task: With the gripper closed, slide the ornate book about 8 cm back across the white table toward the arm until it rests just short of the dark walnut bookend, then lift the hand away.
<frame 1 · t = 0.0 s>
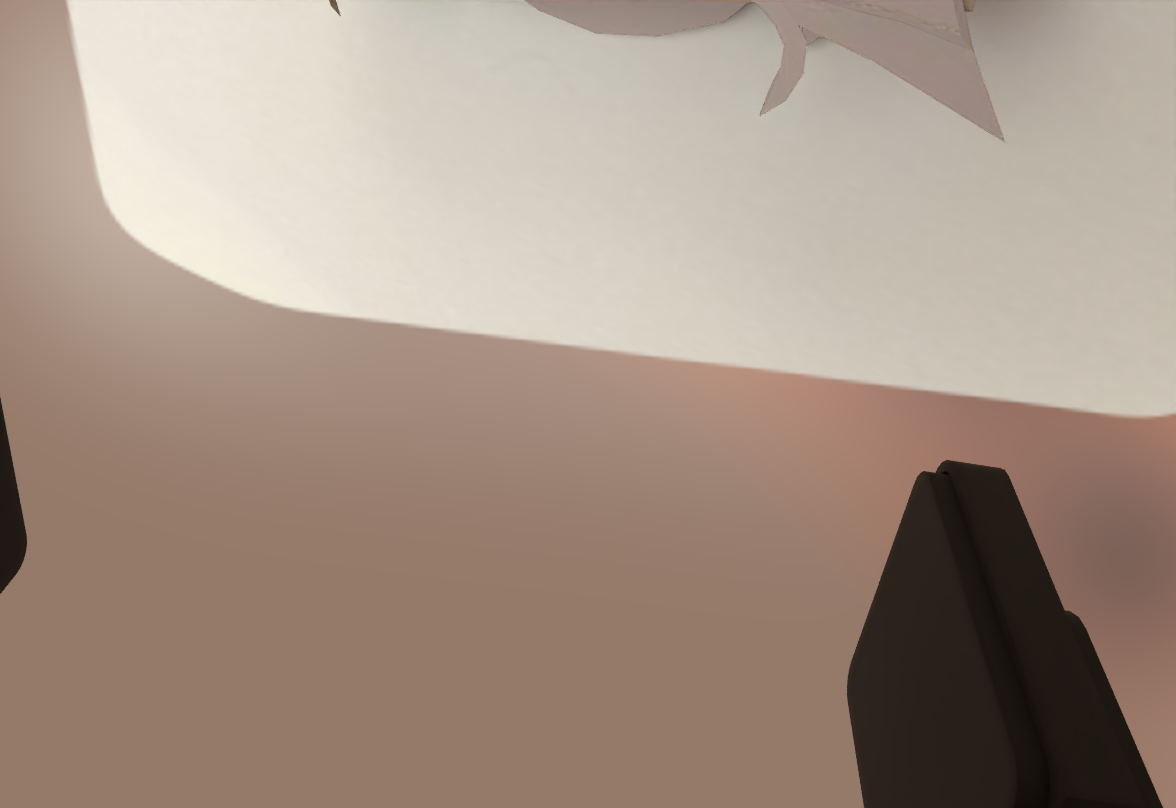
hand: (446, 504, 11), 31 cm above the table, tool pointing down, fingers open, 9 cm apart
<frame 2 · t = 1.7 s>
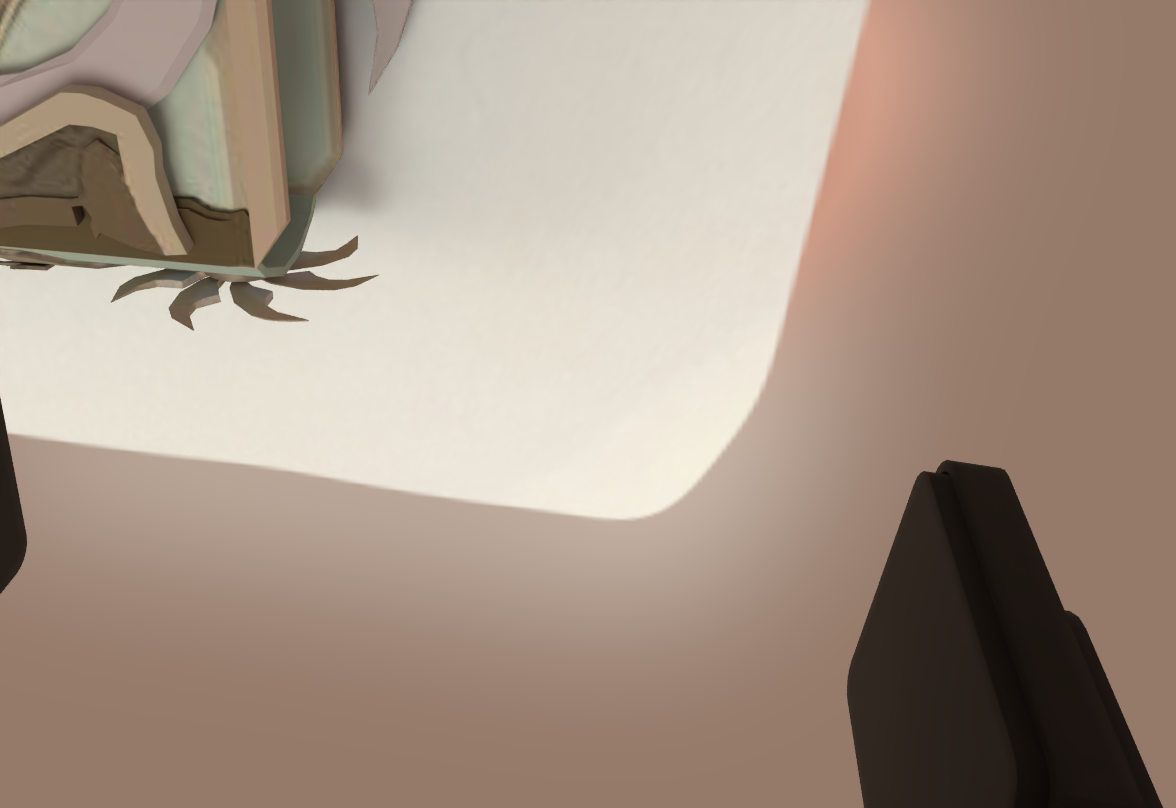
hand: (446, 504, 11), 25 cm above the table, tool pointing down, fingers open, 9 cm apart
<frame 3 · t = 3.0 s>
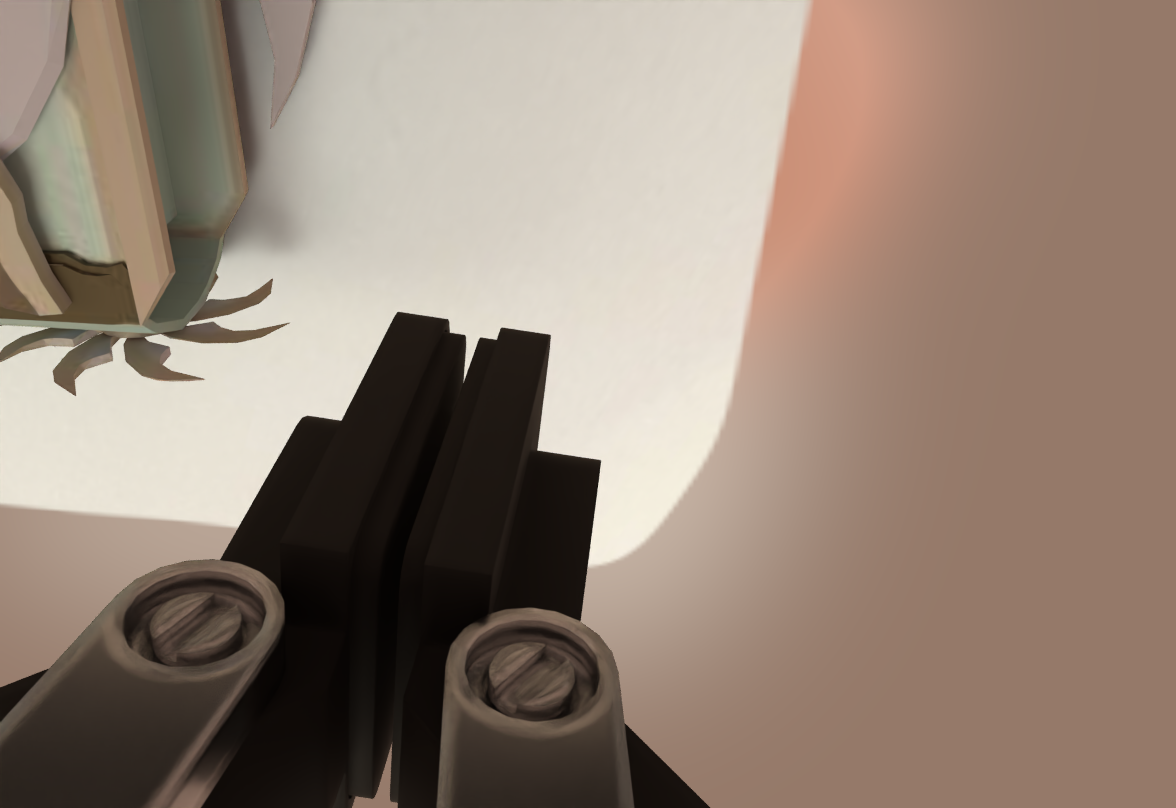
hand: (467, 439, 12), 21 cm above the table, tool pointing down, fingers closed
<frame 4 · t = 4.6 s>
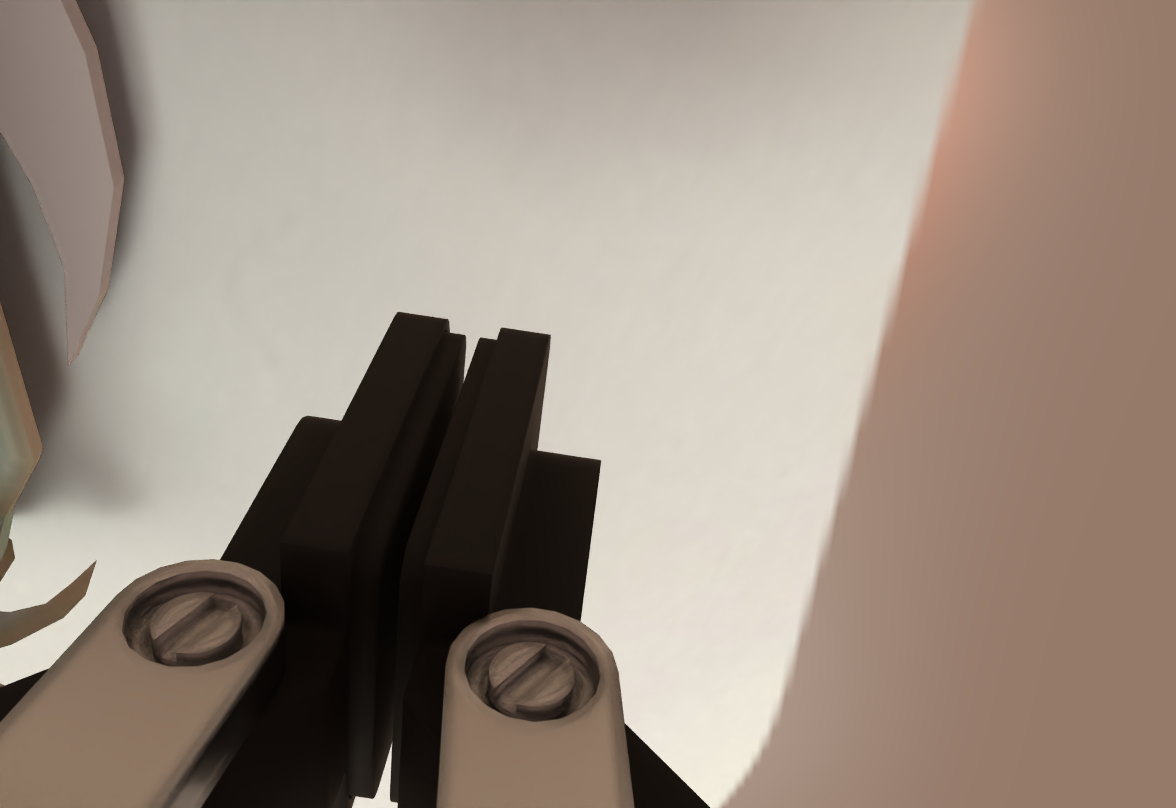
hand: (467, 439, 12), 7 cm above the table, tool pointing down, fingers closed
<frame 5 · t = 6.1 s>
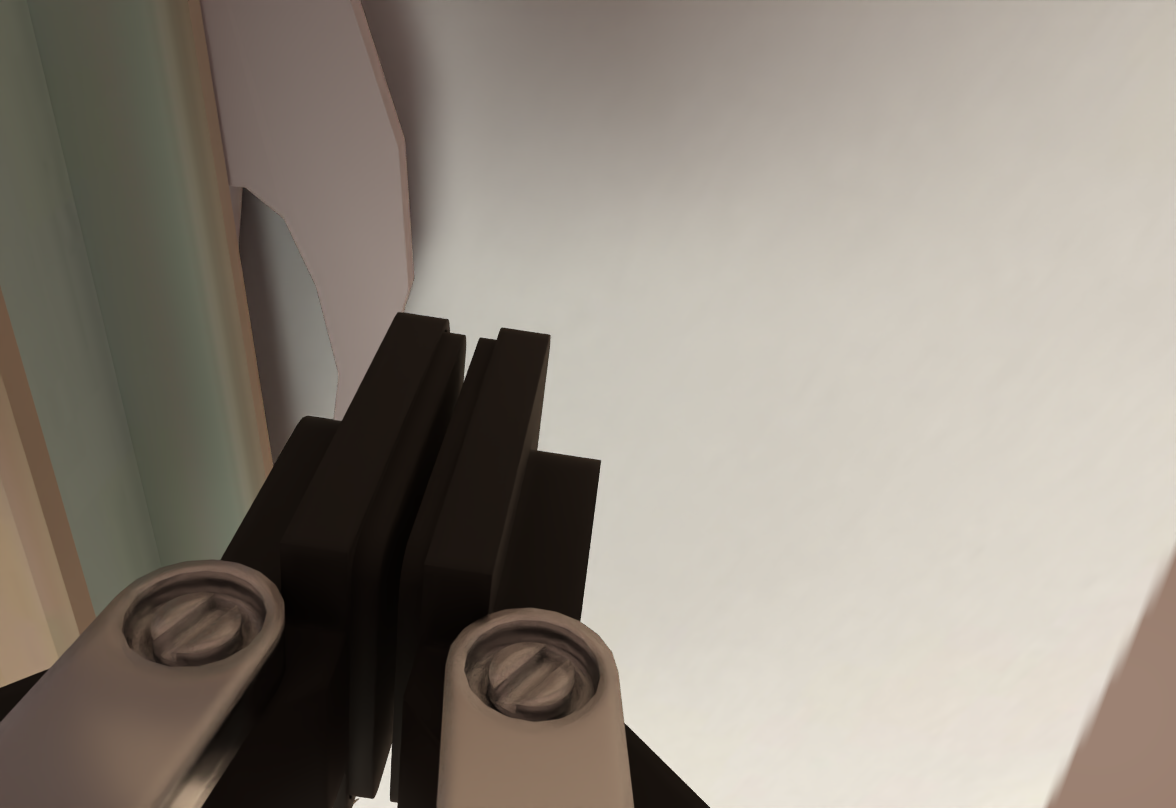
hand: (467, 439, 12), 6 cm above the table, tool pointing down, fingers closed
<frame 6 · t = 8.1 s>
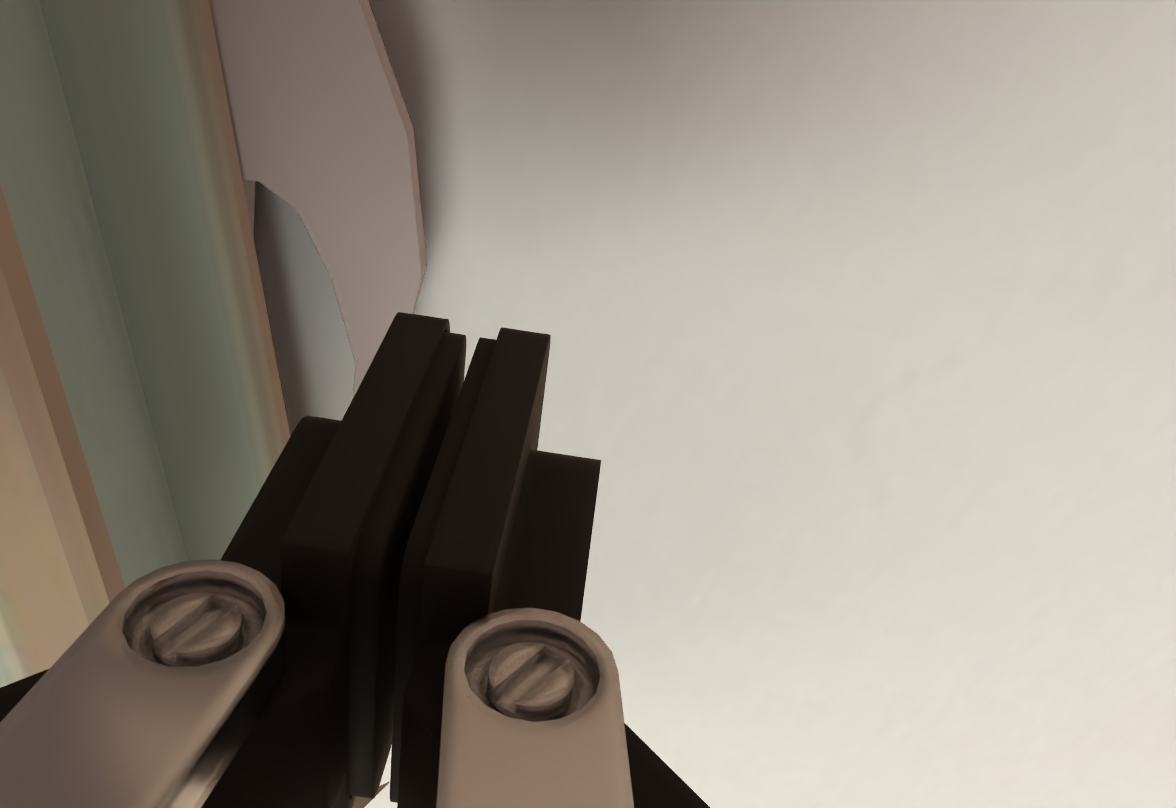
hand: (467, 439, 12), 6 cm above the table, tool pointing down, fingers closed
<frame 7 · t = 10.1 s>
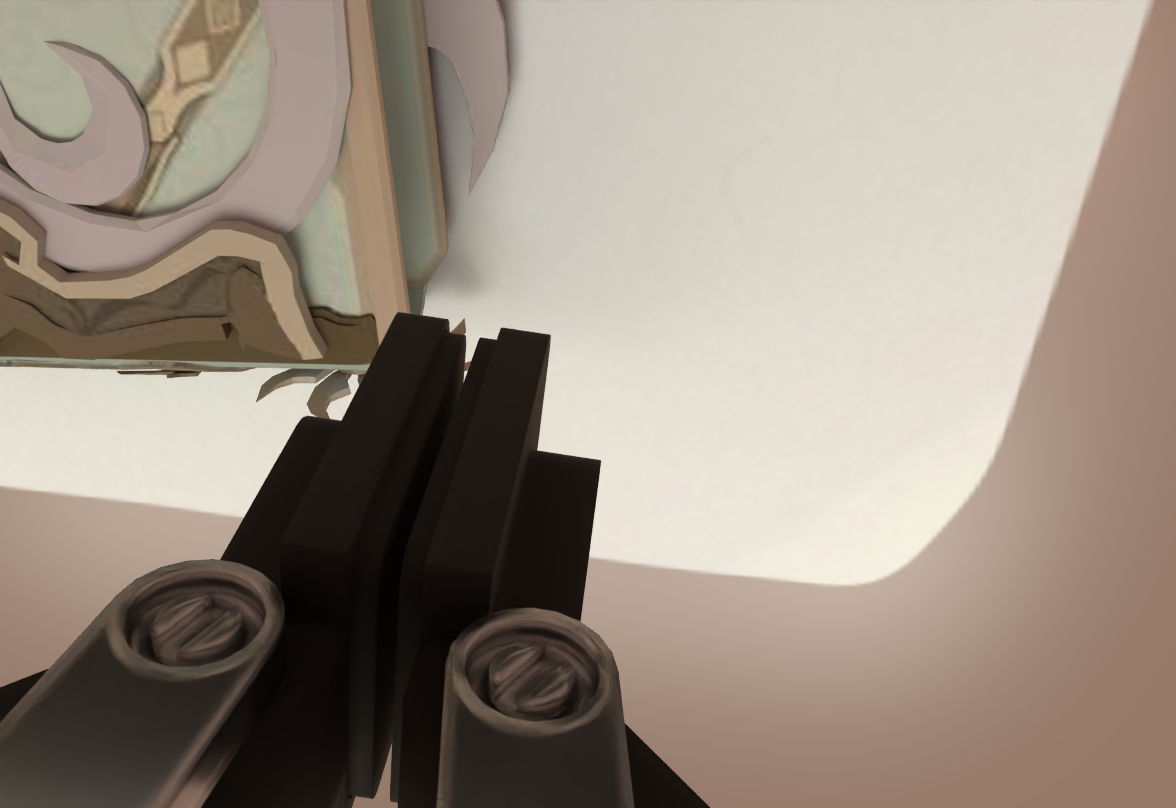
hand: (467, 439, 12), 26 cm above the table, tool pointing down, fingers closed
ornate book: (101, 26, 36), on the table
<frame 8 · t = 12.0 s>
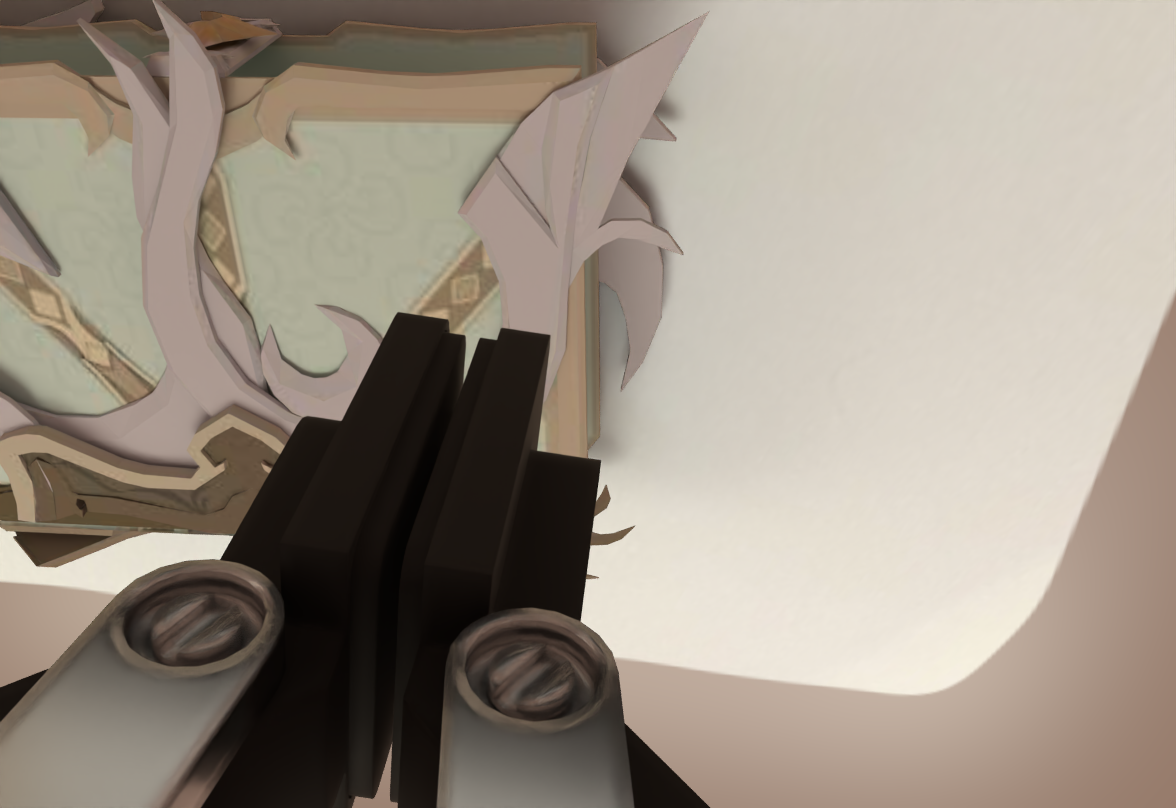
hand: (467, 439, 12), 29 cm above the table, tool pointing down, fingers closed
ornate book: (317, 249, 44), on the table
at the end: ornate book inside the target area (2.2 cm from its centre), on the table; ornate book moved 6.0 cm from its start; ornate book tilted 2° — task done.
